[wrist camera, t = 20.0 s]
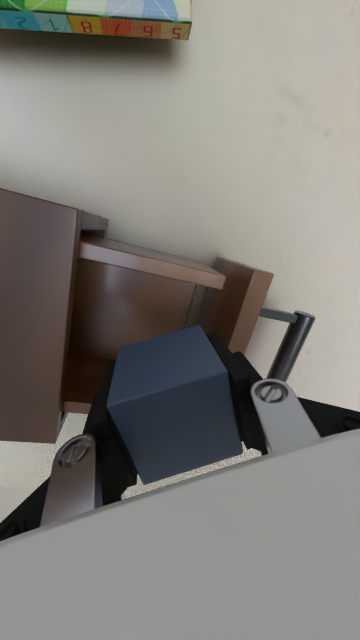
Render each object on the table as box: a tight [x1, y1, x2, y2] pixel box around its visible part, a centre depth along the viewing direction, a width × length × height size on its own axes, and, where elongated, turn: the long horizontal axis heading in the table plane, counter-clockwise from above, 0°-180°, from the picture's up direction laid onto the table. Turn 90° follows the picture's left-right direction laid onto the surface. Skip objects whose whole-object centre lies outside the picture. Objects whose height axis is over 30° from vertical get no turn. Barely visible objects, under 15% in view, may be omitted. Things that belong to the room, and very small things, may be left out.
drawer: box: [62, 232, 315, 414], centre depth 17 cm, size 19×11×7 cm, turn 76°
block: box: [107, 325, 243, 485], centre depth 10 cm, size 4×4×4 cm
